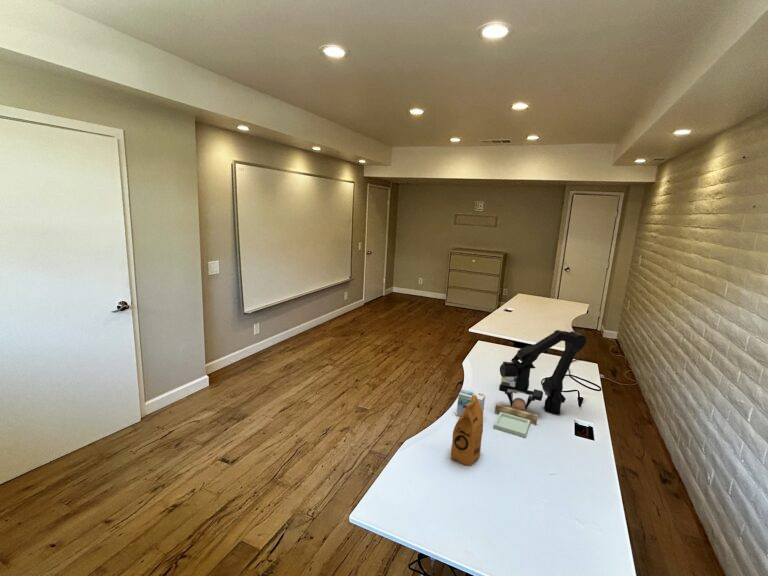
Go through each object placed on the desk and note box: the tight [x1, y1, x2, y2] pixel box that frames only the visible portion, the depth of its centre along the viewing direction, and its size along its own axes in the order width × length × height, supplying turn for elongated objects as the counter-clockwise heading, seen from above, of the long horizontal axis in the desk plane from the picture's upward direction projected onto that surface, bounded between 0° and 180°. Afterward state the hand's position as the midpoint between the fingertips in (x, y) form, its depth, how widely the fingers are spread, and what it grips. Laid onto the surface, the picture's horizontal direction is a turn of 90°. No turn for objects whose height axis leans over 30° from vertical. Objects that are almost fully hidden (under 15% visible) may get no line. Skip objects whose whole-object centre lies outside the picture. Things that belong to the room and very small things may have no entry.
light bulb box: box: [456, 388, 486, 418], centre depth 170 cm, size 11×7×11 cm, turn 62°
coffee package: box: [450, 395, 484, 467], centre depth 140 cm, size 10×12×22 cm
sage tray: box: [492, 412, 531, 439], centre depth 165 cm, size 13×13×2 cm
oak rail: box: [494, 403, 539, 426], centre depth 171 cm, size 18×2×4 cm, turn 61°
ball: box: [512, 397, 527, 411], centre depth 178 cm, size 6×6×6 cm
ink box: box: [500, 376, 517, 394], centre depth 202 cm, size 9×9×12 cm
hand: (518, 407), depth 178 cm, fingers closed on ball, 6 cm apart
